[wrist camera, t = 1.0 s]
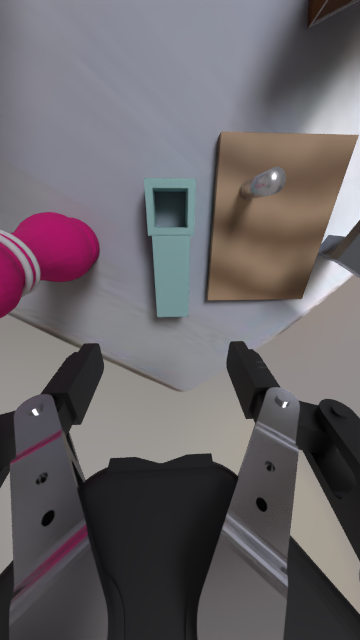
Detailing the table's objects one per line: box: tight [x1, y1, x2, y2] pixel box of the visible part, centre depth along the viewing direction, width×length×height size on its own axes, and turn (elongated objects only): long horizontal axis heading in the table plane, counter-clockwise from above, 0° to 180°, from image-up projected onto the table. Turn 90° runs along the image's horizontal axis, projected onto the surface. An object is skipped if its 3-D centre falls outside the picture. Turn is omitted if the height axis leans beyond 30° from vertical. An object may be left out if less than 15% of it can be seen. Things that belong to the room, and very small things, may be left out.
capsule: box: [240, 167, 286, 200], centre depth 20 cm, size 2×2×8 cm
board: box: [206, 132, 359, 300], centre depth 25 cm, size 19×15×1 cm
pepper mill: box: [0, 212, 99, 318], centre depth 16 cm, size 7×7×20 cm
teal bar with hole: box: [144, 178, 196, 317], centre depth 25 cm, size 16×5×4 cm, turn 0°
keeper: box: [318, 220, 360, 277], centre depth 23 cm, size 6×5×8 cm
